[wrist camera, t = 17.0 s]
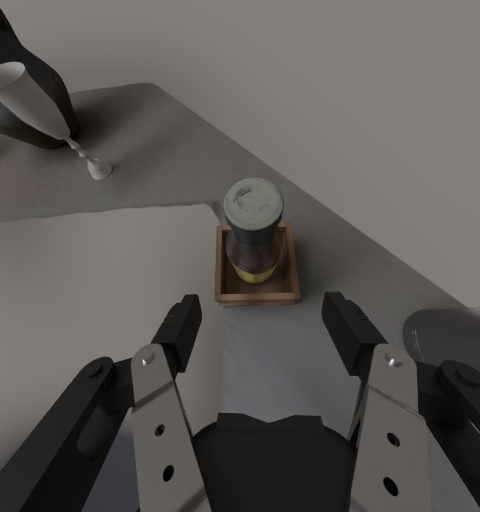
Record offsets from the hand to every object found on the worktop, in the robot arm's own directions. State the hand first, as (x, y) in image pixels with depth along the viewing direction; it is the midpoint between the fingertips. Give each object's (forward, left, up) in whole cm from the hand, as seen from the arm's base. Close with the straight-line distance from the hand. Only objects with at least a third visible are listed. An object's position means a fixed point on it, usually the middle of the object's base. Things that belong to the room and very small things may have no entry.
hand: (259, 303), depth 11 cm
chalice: (+36, -33, -19) cm, 53 cm away
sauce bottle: (0, -7, -18) cm, 19 cm away
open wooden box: (0, -7, -19) cm, 20 cm away
